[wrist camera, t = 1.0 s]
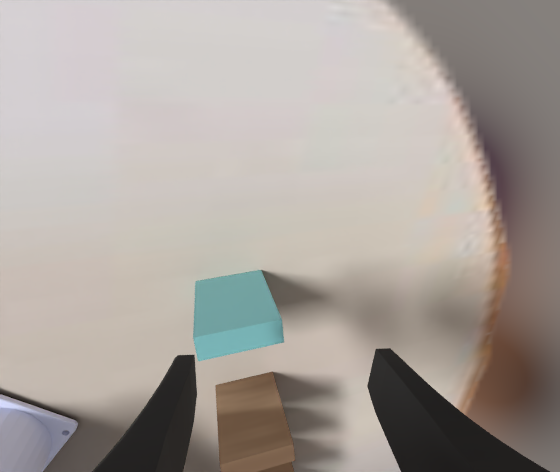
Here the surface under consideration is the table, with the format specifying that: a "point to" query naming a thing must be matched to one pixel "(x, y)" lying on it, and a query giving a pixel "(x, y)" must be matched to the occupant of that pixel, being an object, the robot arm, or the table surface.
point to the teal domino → (234, 315)
